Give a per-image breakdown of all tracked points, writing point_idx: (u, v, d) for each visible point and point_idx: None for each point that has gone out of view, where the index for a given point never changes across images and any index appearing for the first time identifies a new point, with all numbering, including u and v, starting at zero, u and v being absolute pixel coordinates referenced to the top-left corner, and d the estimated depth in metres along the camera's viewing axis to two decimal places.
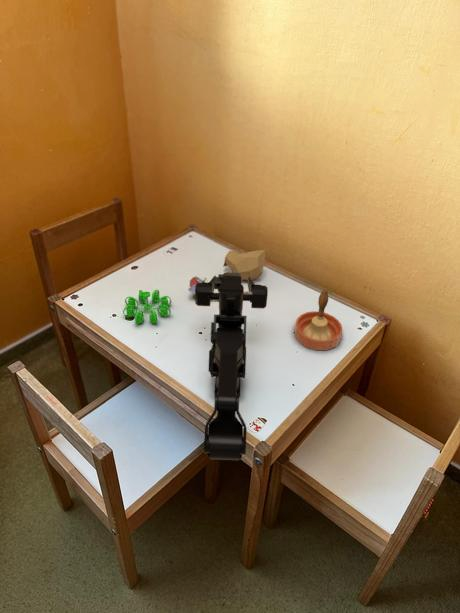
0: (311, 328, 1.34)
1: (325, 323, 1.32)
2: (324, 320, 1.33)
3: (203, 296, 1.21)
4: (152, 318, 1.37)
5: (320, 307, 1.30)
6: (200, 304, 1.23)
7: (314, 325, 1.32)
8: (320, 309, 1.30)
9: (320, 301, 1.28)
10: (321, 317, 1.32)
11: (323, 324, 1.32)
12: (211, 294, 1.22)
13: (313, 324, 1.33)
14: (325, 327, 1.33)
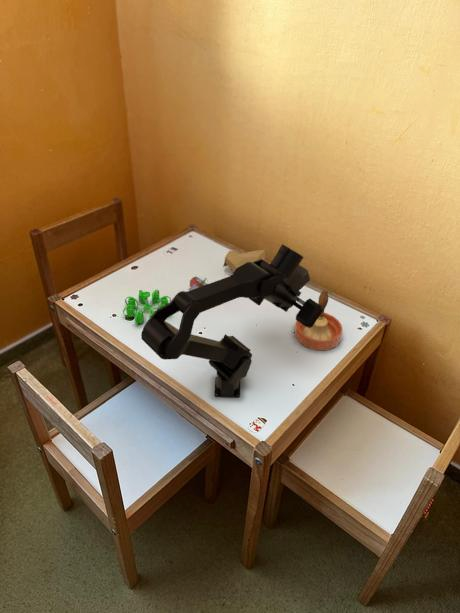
0: (311, 328, 1.34)
1: (325, 323, 1.32)
2: (324, 320, 1.33)
3: None
4: None
5: None
6: None
7: (314, 325, 1.32)
8: None
9: (320, 301, 1.28)
10: (321, 317, 1.32)
11: (323, 324, 1.32)
12: None
13: None
14: (325, 327, 1.33)
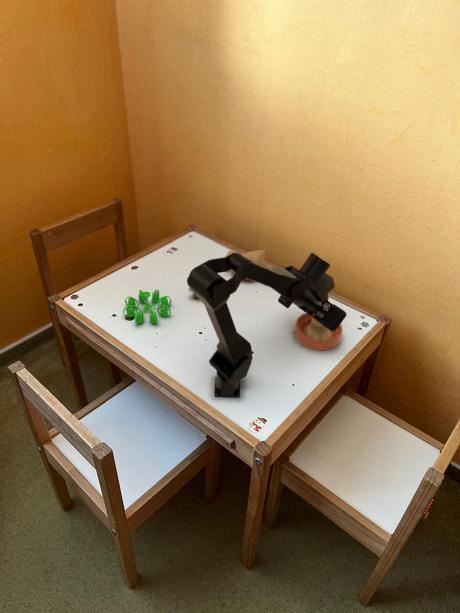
0: (311, 328, 1.34)
1: None
2: None
3: None
4: (152, 318, 1.37)
5: None
6: None
7: (314, 325, 1.32)
8: None
9: None
10: None
11: None
12: None
13: (313, 324, 1.33)
14: (325, 327, 1.33)
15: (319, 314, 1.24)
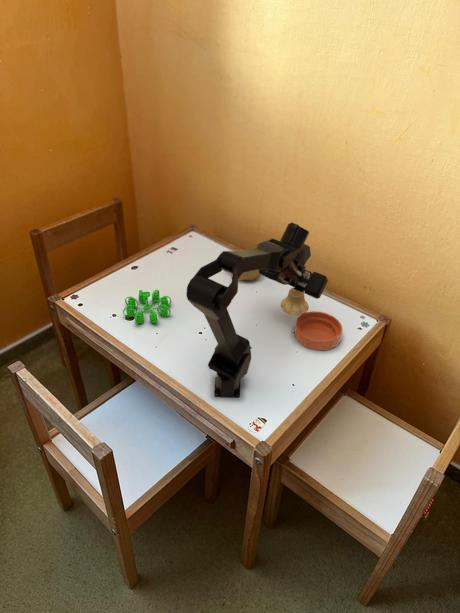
0: (289, 300, 1.34)
1: (303, 293, 1.34)
2: None
3: None
4: (152, 318, 1.37)
5: None
6: (262, 269, 1.28)
7: (293, 297, 1.33)
8: None
9: None
10: None
11: (301, 294, 1.33)
12: None
13: (291, 296, 1.33)
14: (303, 297, 1.34)
15: (301, 284, 1.25)
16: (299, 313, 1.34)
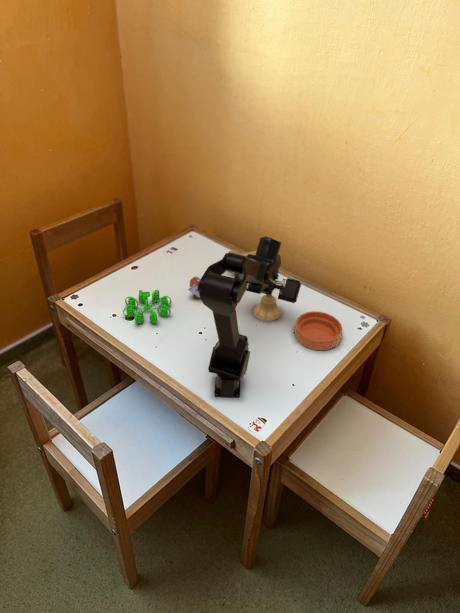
0: (263, 308, 1.41)
1: (274, 299, 1.40)
2: (272, 297, 1.41)
3: None
4: (152, 318, 1.37)
5: None
6: None
7: (266, 304, 1.40)
8: None
9: None
10: (270, 295, 1.39)
11: (273, 301, 1.40)
12: None
13: (265, 304, 1.40)
14: (275, 303, 1.41)
15: None
16: (274, 318, 1.41)
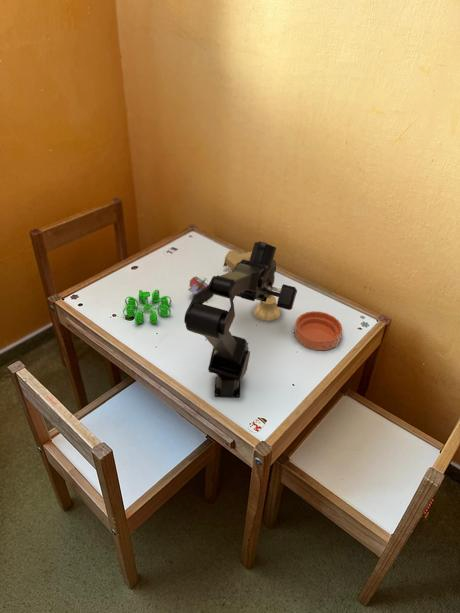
0: (263, 308, 1.41)
1: (274, 299, 1.40)
2: (272, 297, 1.41)
3: None
4: (152, 318, 1.37)
5: None
6: None
7: (266, 304, 1.40)
8: None
9: None
10: (270, 295, 1.39)
11: (273, 301, 1.40)
12: None
13: (265, 304, 1.40)
14: (275, 303, 1.41)
15: None
16: (274, 318, 1.41)
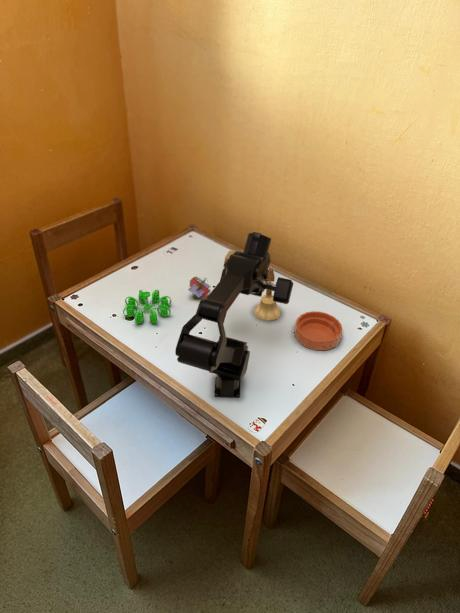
0: (263, 308, 1.41)
1: None
2: (272, 297, 1.41)
3: None
4: (152, 318, 1.37)
5: None
6: None
7: (266, 304, 1.40)
8: None
9: (268, 280, 1.35)
10: (270, 295, 1.39)
11: (273, 301, 1.40)
12: None
13: (265, 304, 1.40)
14: (275, 303, 1.41)
15: None
16: (274, 318, 1.41)
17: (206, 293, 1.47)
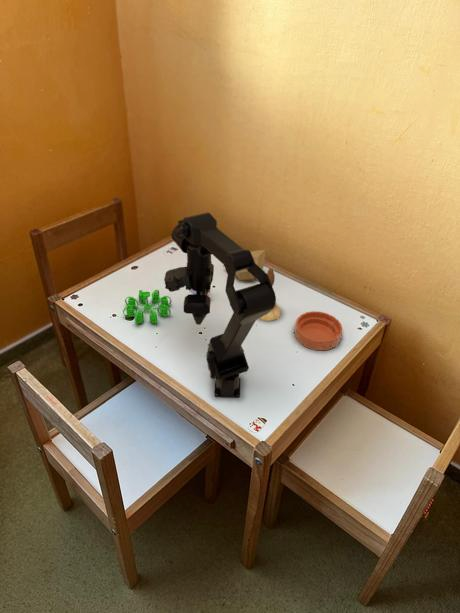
0: None
1: None
2: None
3: (193, 298, 1.11)
4: (152, 318, 1.37)
5: None
6: (204, 301, 1.10)
7: None
8: None
9: None
10: None
11: None
12: None
13: None
14: (275, 303, 1.41)
15: None
16: (274, 318, 1.41)
17: None
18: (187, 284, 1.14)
